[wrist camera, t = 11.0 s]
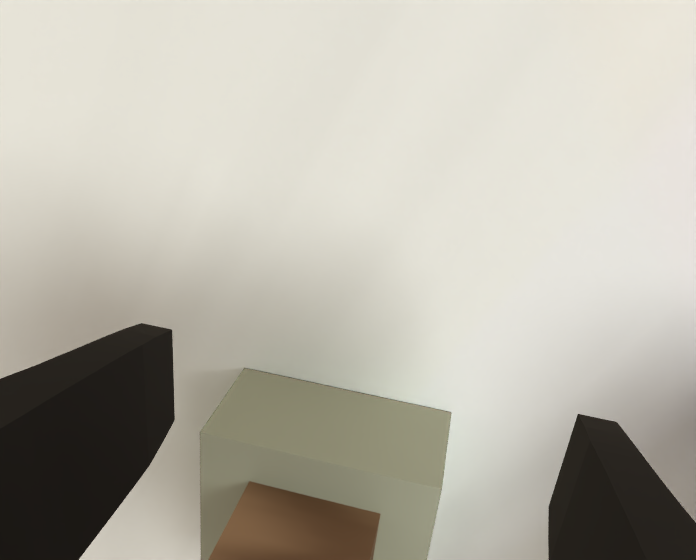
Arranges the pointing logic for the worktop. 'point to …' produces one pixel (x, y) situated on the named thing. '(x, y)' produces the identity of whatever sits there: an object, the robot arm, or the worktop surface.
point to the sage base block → (326, 456)
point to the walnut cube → (295, 528)
